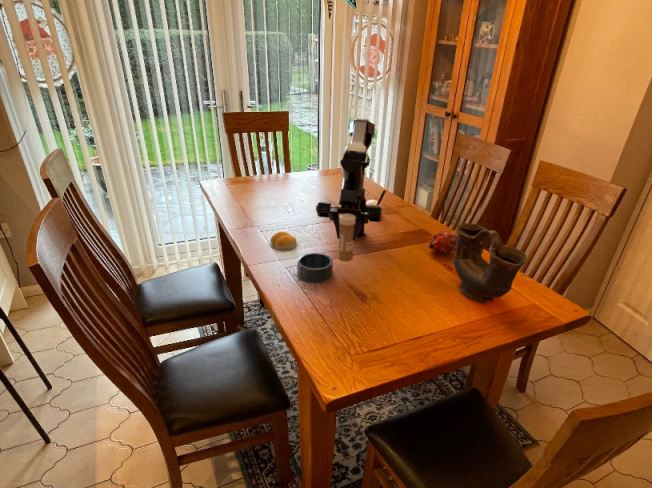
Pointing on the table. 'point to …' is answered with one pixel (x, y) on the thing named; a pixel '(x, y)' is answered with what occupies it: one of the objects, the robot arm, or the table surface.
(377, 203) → the cocoa
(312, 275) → the bowl
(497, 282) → the pottery vessel
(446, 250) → the dragon fruit
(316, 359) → the table surface
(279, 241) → the bread roll
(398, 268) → the table surface
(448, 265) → the table surface
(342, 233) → the spice jar
